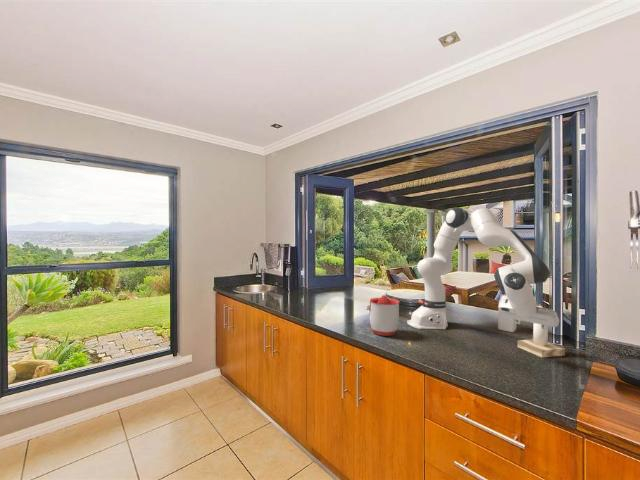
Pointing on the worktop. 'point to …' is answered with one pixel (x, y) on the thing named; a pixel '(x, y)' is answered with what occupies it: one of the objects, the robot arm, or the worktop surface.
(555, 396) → the worktop surface
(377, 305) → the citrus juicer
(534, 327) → the canister
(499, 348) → the worktop surface
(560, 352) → the base slab
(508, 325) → the milk carton
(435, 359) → the worktop surface
